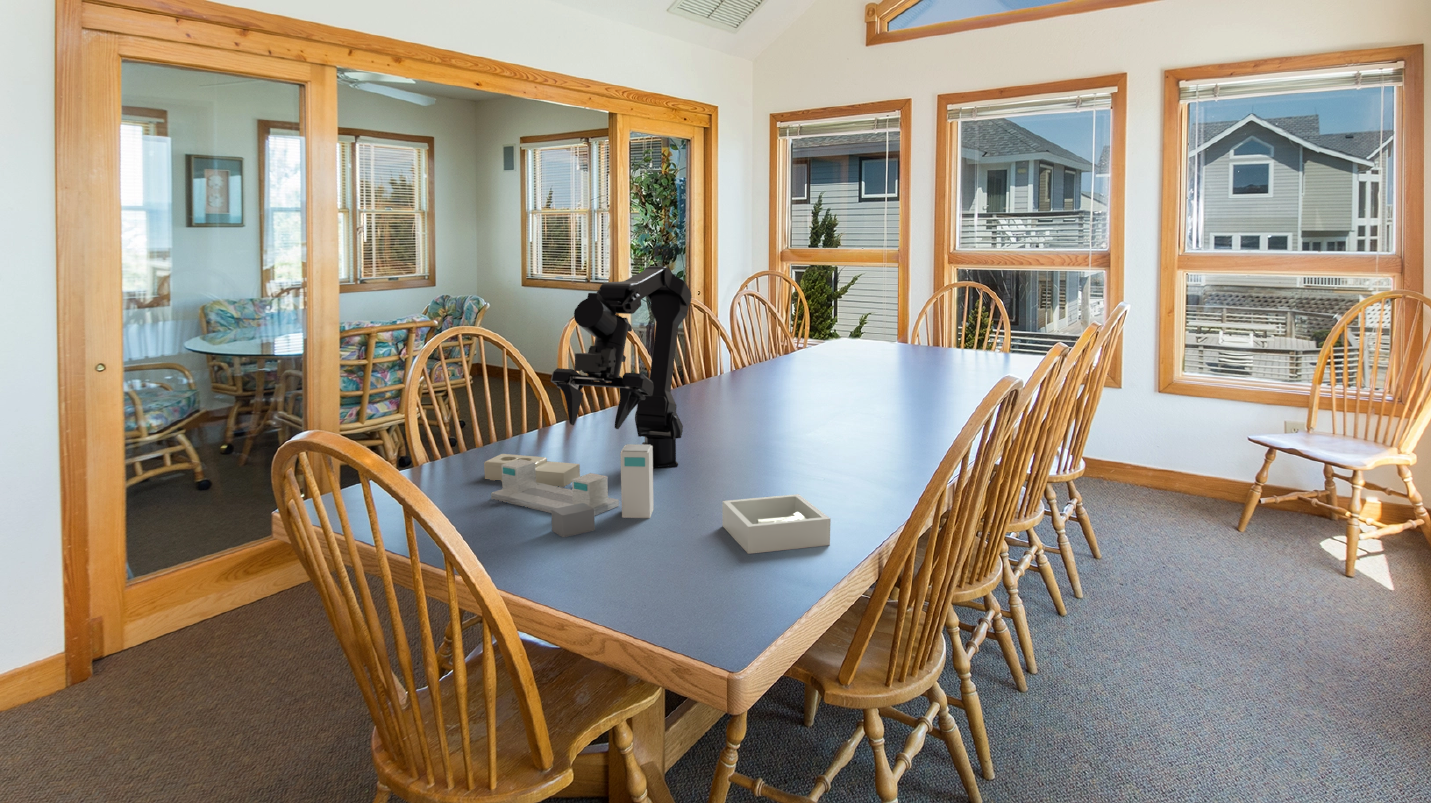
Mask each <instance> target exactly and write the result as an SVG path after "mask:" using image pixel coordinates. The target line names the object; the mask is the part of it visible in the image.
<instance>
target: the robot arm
mask: <svg viewBox="0 0 1431 803" xmlns="http://www.w3.org/2000/svg"><path fill="white" fill-rule="evenodd" d="M586 297H587V298H585V299H582V301H580V302H579V304H578V305H577V306H576V308H575V309H574V312H573V316H574V317H573V318H574V321H575V323H576V324H577V326H580V328H582V329H583V330H585V332H587V333H588V334H590V335H591V336H592V337H594V343H593V345H589V348H588V351H587V352H581V353H574V368H573V369H572V368H558V367H556V369H555V370H554V371H553V372H552V373H551V378H550V382H551V383H553V385H556V388H558V389H559V390H561V391H562V392H563V395H564V398H565V403H566V409H567V416H568V423H569V425H571V426H575V423H576V421H577V418H578V414H579V411H580V406H581V404H582V403H581V402H582V401H583V400H582V399H583V397H584V396H583V395H584V392H582V391H581V390H582V389H583V388H584V386H585V387H586V386H587V387H598V388H601V387H602V388H612V389H613V388H614V389H619V402H618V406H617V411H616V415H615V418H614V419H615V420H614V429H615V430H619V429H620V428H621V427H622V425H623V424H624V422H625V421H626V419H627V418H628V416H629V415H630V414H631V412H632V411H633V410H634V409H635V407H637V408H636V410H635V415H634V422H635V426H636V432H637V437H639V438H640V437H643V438H644V441H643V442H642V443H641V445H651V446H653V469H654V468H666V467H677V466H679V462H678V461H677V439H681V438H682V435H683V431H684V430H683V429H684V424H683V423H682V421H681V419H680V417H679V416H678V413H677V404H676V401H675V399H674V397H673V395H672V383H673V382H672V381H673V375H674V364H675V358H676V349H677V348H676V347H677V341H678V333H679V326H680V325H681V323H682V322H683V321H684V319H686V317H687V316H688V314H689V313H688V312H689V308H690V306H691V303H692V292H691V290H690V288H689V286H688V284H687V283H686V281H685V280H683V279H682V278H680V277H679V276H677V275H675V274H674V273H673V272H672V270H671V269H670V267H667V266H658V265H657V266H656V265H655V266H650V265H649V266H648V267H645V268H644V269H643V271H642V270H641V271H640V272H638V273H637V274H634V275H633V276H631V277H629V278H627V279H625V280H622V281H621V280H620V281H609V282H603V283H602V284H601V285H600V287H599V289H598V290H597V291H596V292H588V294H587V296H586ZM644 298H647V299H648V301H649V302H650V308H649V309H650V311H651V314H652V316H653V319H654V321H655V331H654V339H653V347H652V356H651V361H650V362H651V363H650V372H649V378H648V377H647V376H646V375H645V374H644V373H639V372H624V373H623V375H622V376H620V375H621V374H620V373H621V368H622V364H623V363H626V358H627V356H625V355H624V353H625V347H626V342H627V336H628V332H632V331H633V328H632V325H631V324H630V322H629V319H628V318H627V317H623V316H621V315H618V314H622V315H623V314H625V315H626V314H629V315H632V314H635V313H636V311H638V309H639V308H640V307H641V306H642V300H643V299H644ZM580 371H582V372H583V373H584V374H587V375H582V374H581V373H579V372H580Z"/></svg>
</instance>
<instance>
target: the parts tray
mask: <svg viewBox="0 0 1431 803" xmlns="http://www.w3.org/2000/svg"><path fill="white" fill-rule="evenodd" d="M796 512H799V513H800V514H802V515H803V516H804V517H805V518H806V519H800V520H790V521H780V522H770V523H759V524H757V519H768V518H779V517H788V516H790V515H792V514H794V513H796ZM831 519H832V518H831V517H829V516H828V515H827V514H825V513H824V512H822V510H820V509H819V508H818V507H816V506H815V505H813V504H812V503H811V502H809V500H807V499H805V497H803V496H802V495H800V494H798V493H797V494H785V495H775V496H773V495H772V496H766V497H765V496H763V497H751V498H742V499H741V498H740V499H739V498H738V499H728V500H722V527H723V528H724V529H725V531H726V532H728V534H729V535H730V536H731V537H732V538H733V539H734V540H735V542H737V543H738V544H739V546H740V547H741V548H742V549H743V550H744V551H745V552H746V553H747V554H748V555H750V554H758V553H759V554H760V553H767V552H777V551H778V552H779V551H789V550H797V549H806V548H815V547H823V546H830V545H831V523H832V522H831Z"/></svg>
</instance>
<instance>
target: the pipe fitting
mask: <svg viewBox="0 0 1431 803" xmlns="http://www.w3.org/2000/svg"><path fill="white" fill-rule="evenodd" d="M800 519H806V518H805V517H804V516H803V515H802V514H800V513H799V512H796V513H794V514H792V515H790V516H788V517H779V518H768V519H757V524H759V523H770V522H780V521H790V520H800Z"/></svg>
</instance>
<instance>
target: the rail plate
mask: <svg viewBox="0 0 1431 803" xmlns="http://www.w3.org/2000/svg"><path fill="white" fill-rule="evenodd" d="M501 468H502V481H501V483H502V484H501V486H502V489H498V490H495V491H493V492H490V497H491V498H490V500H493V499H495V500H494V501H498V500H499V501H498V502H502V501H503V502H502V503H506V502H508V503H507V504H510V503H511V504H510V505H515V506H519V507H523V506H525V507H524V508H527V507H528V509H532V510H536V511H541V512H545V513H549V514H552V511H551V509H556V508H561V507H565V506H570V505H575V504H580V503H584V504H586V505H588V506H590V507H592V508H594V517H595V516H598V515H601V514H604V513H605V512H608V511H610V510H613V509H615V508H618V507H619V506H620V500H619V499H617V498H613V497H612V498H611V497H609V491H608V490H609V486H608V475H602V474H597V473H592V472H590V473H587V474H584V475H580V477H578V478H575V479H572V483H571V485H572V486H571V487H572V489H570V488H566V487H558V486H552V485H547V484H543V483H538V482H536V464H535V462H532V461H527V460H522V459H519V460H516V461H513V462H509V463H506V464H502V465H501Z"/></svg>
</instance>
